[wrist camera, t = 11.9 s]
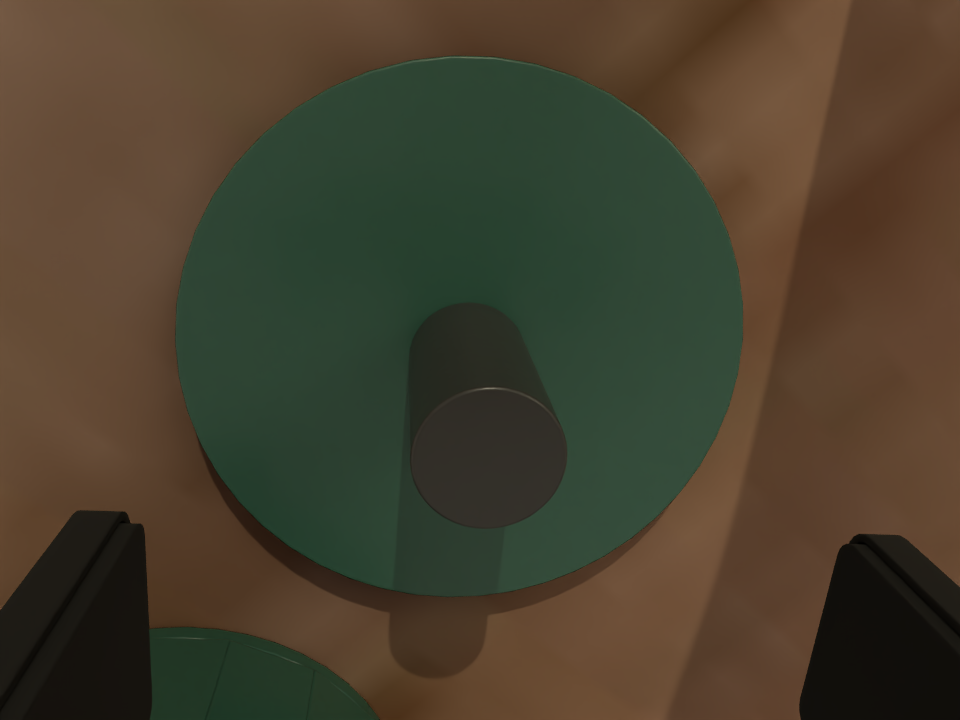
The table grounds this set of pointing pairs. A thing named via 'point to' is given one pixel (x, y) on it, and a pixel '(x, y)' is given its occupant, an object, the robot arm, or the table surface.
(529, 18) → the table surface
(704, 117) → the table surface
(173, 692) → the green cooking pot
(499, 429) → the lid
